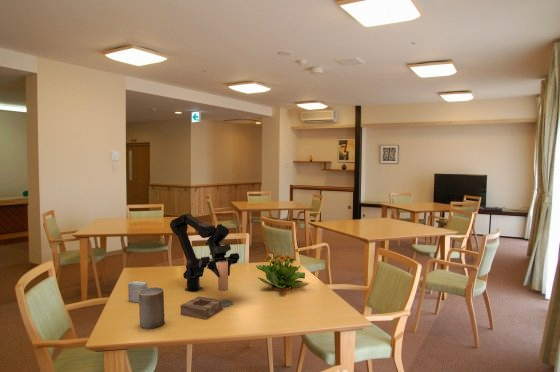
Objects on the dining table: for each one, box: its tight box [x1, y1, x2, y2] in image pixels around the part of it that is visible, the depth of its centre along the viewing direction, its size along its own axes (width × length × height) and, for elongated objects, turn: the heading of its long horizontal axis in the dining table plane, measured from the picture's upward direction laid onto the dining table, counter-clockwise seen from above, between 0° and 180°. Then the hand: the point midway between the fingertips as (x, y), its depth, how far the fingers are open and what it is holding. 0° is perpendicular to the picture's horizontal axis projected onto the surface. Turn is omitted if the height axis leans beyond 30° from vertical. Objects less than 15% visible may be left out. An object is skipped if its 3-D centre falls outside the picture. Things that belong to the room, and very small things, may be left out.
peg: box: [217, 261, 229, 292], centre depth 183 cm, size 4×4×13 cm
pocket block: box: [180, 295, 224, 320], centre depth 175 cm, size 13×13×4 cm
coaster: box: [222, 299, 233, 308], centre depth 184 cm, size 8×8×1 cm
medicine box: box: [127, 280, 149, 303], centre depth 188 cm, size 8×4×9 cm, turn 74°
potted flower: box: [256, 253, 306, 292], centre depth 206 cm, size 25×24×18 cm
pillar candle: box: [138, 287, 166, 330], centre depth 161 cm, size 10×10×15 cm
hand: (224, 276), depth 182 cm, fingers closed on peg, 4 cm apart
